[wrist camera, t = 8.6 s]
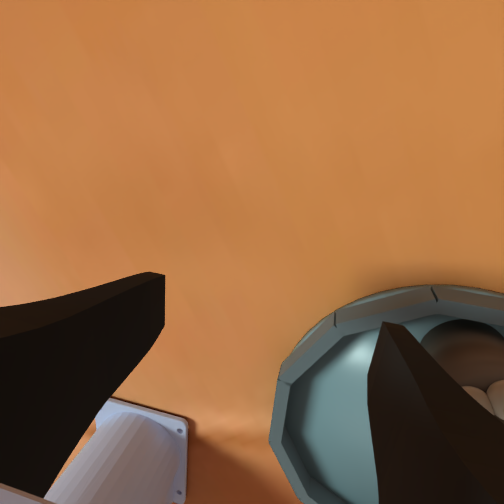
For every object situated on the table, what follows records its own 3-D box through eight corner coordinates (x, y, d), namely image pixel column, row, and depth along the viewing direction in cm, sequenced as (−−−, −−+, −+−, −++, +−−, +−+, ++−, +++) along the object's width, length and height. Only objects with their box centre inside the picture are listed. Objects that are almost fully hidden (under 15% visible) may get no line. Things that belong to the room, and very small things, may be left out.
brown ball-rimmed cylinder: (492, 395, 20) (546, 496, 14) (409, 376, 21) (431, 465, 15) (521, 328, 18) (594, 414, 13) (429, 311, 19) (462, 385, 14)
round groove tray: (540, 565, 24) (559, 608, 22) (264, 482, 28) (258, 512, 26) (698, 325, 17) (748, 355, 15) (298, 256, 20) (293, 272, 18)
